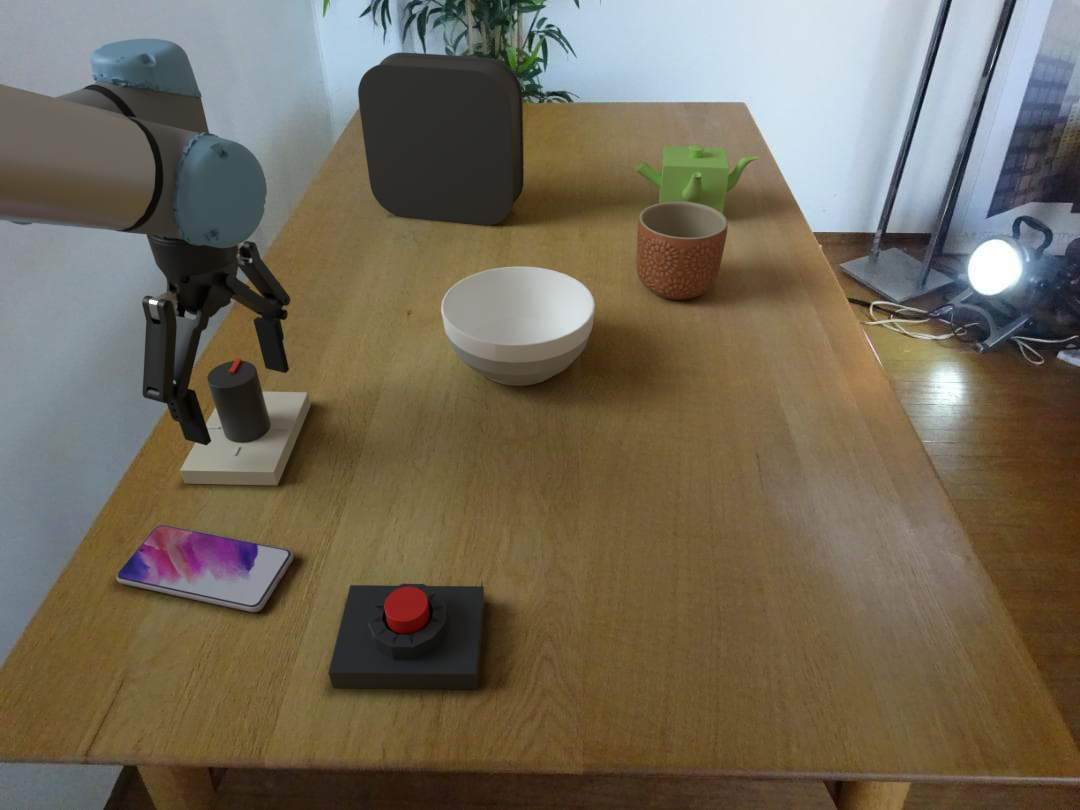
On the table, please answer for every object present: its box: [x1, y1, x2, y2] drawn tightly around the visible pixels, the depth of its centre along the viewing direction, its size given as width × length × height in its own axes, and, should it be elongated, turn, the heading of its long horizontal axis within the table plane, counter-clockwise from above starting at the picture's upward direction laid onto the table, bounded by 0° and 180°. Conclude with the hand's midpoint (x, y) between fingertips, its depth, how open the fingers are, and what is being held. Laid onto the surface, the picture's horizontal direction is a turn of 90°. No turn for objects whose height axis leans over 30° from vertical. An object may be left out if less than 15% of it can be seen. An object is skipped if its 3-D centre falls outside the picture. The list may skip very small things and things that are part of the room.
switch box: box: [328, 583, 486, 690], centre depth 69 cm, size 12×9×4 cm
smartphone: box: [115, 524, 294, 613], centre depth 76 cm, size 7×1×15 cm
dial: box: [206, 358, 271, 443], centre depth 88 cm, size 5×5×8 cm
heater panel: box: [179, 390, 312, 487], centre depth 91 cm, size 14×10×2 cm
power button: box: [384, 587, 430, 634], centre depth 67 cm, size 4×4×2 cm
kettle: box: [635, 144, 760, 215], centre depth 137 cm, size 15×14×11 cm
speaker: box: [357, 52, 525, 226], centre depth 133 cm, size 25×9×25 cm, turn 77°
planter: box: [635, 201, 728, 301], centre depth 116 cm, size 12×12×11 cm
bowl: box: [440, 266, 596, 387], centre depth 101 cm, size 19×19×9 cm
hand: (240, 403), depth 88 cm, fingers open, 13 cm apart
